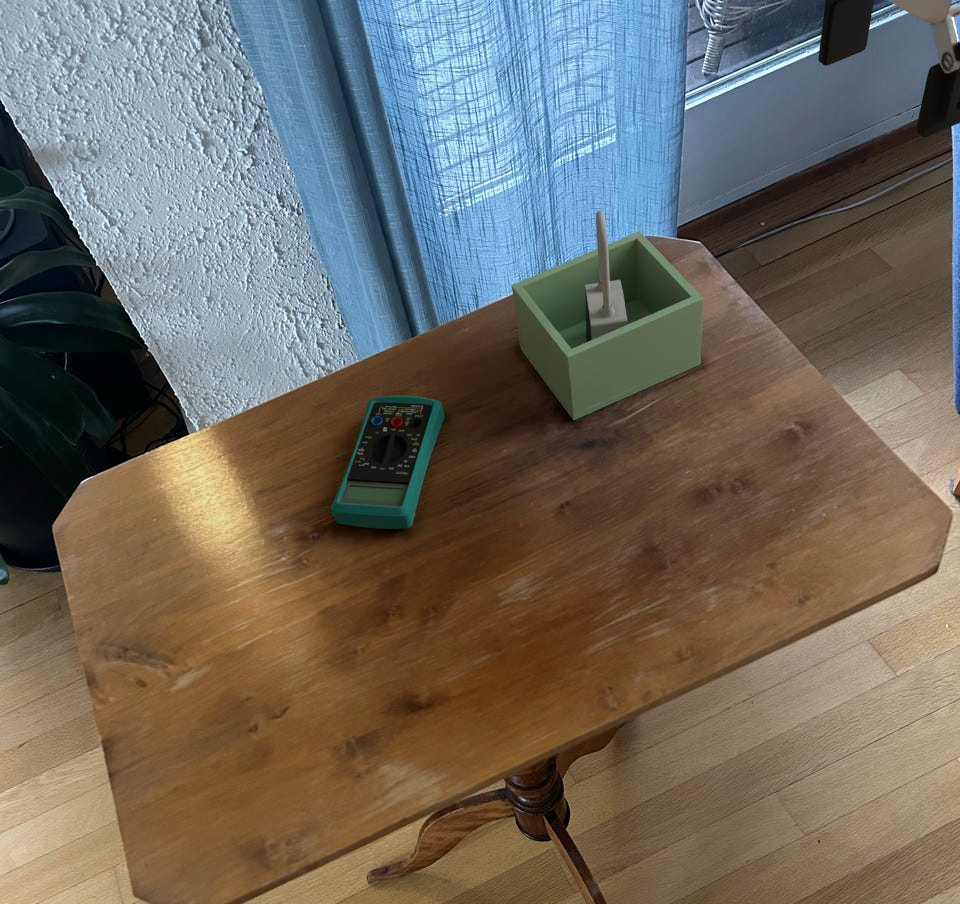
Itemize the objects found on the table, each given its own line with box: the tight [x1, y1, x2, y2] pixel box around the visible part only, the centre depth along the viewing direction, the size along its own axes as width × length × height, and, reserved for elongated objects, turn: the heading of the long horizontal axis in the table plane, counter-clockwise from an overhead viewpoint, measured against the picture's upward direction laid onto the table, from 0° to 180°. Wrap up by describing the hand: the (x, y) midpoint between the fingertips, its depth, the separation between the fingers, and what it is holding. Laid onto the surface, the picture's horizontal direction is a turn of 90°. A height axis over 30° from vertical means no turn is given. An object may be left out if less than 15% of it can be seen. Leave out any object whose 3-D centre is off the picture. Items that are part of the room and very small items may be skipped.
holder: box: [511, 231, 704, 421], centre depth 97 cm, size 12×14×8 cm
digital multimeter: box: [330, 394, 446, 530], centre depth 95 cm, size 7×15×3 cm, turn 168°
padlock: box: [585, 210, 627, 342], centre depth 93 cm, size 7×4×15 cm, turn 2°
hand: (889, 90), depth 63 cm, fingers open, 9 cm apart
